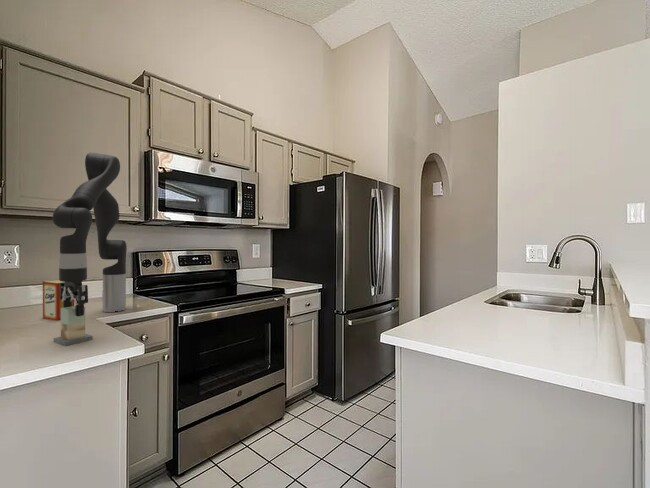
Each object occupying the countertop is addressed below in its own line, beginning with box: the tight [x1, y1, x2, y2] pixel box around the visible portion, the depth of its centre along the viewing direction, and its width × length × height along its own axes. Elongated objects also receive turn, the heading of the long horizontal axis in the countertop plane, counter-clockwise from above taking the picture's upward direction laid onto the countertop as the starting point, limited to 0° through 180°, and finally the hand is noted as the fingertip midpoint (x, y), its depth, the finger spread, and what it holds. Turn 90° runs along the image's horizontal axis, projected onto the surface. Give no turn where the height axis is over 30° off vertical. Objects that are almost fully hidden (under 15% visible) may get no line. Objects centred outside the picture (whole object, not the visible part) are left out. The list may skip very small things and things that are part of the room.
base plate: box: [53, 333, 94, 347], centre depth 111 cm, size 8×8×1 cm
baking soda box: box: [42, 279, 75, 322], centre depth 140 cm, size 10×6×16 cm
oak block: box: [60, 321, 86, 340], centre depth 111 cm, size 5×5×5 cm
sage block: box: [60, 305, 86, 325], centre depth 111 cm, size 5×5×5 cm
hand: (73, 314), depth 111 cm, fingers open, 8 cm apart
